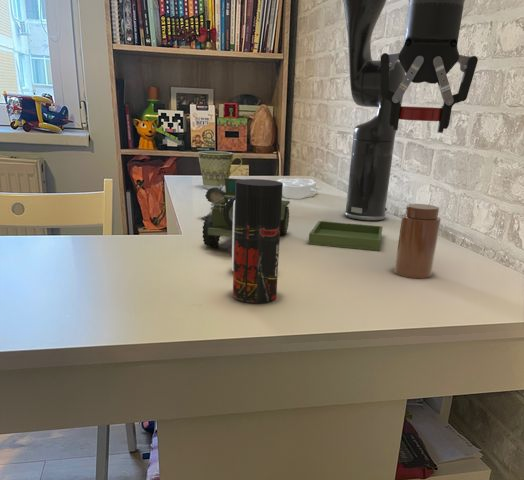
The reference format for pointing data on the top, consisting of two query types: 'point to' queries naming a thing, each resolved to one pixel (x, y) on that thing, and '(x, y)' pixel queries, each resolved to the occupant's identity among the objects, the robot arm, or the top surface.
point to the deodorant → (256, 239)
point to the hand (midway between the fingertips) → (417, 130)
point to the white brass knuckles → (298, 188)
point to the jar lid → (420, 113)
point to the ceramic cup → (216, 167)
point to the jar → (417, 241)
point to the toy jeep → (231, 217)
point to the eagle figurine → (214, 197)
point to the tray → (346, 235)
